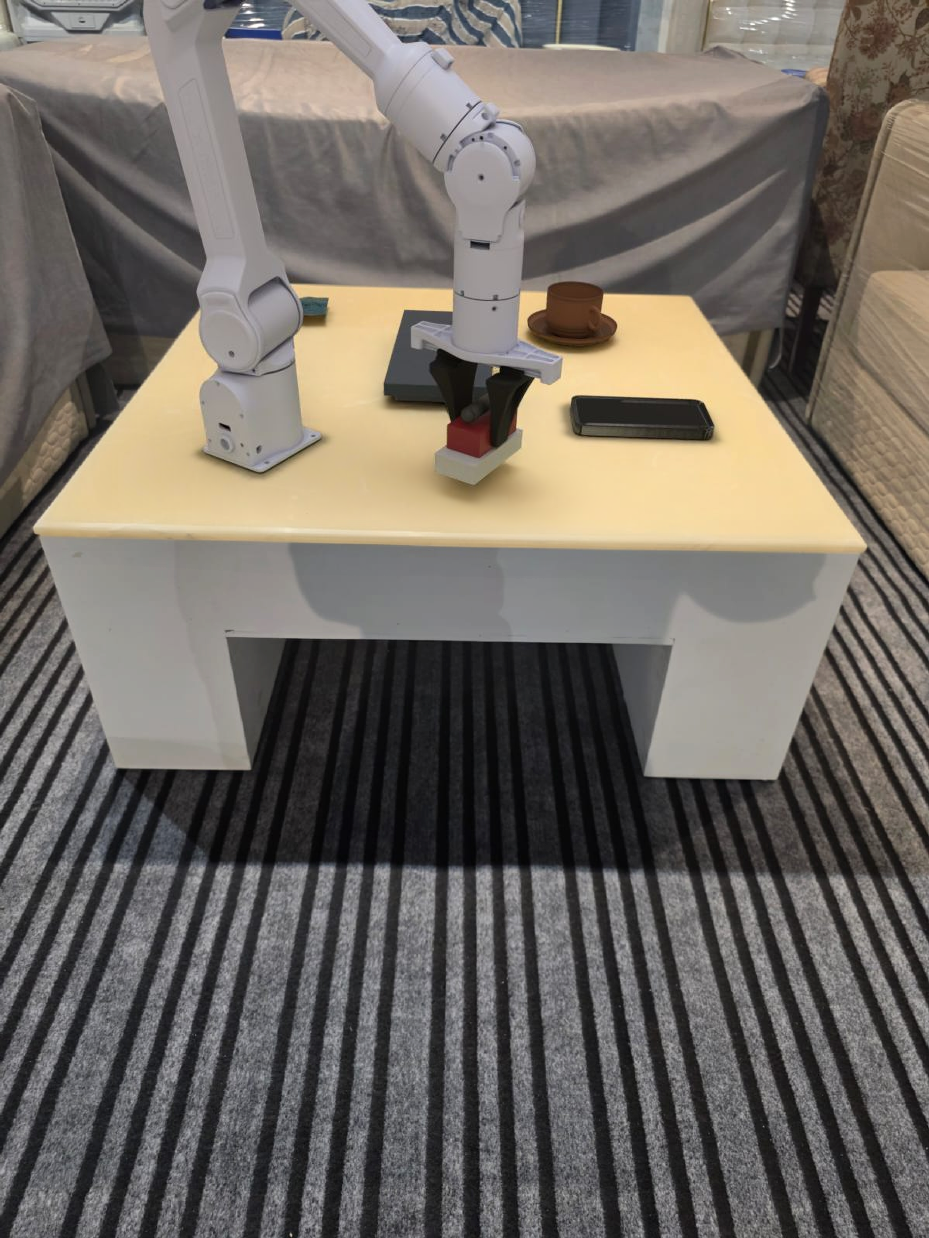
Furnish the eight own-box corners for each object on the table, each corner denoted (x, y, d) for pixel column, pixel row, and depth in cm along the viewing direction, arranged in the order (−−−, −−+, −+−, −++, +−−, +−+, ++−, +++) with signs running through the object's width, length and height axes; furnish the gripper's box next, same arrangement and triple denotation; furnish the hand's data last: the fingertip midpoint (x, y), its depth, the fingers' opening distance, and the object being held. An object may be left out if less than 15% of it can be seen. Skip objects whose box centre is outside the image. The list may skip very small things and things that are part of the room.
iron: (473, 485, 77) (476, 423, 73) (434, 472, 79) (434, 410, 75) (521, 448, 83) (526, 388, 79) (483, 436, 85) (486, 377, 81)
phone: (716, 430, 89) (575, 425, 89) (714, 440, 90) (574, 434, 90) (702, 399, 95) (570, 394, 95) (700, 408, 96) (569, 403, 96)
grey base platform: (490, 412, 94) (492, 387, 92) (384, 408, 94) (383, 383, 92) (493, 335, 112) (494, 312, 111) (404, 332, 113) (404, 309, 111)
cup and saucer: (632, 336, 113) (639, 290, 109) (581, 361, 106) (587, 312, 102) (561, 315, 119) (565, 270, 115) (508, 336, 112) (510, 289, 108)
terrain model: (232, 327, 112) (230, 312, 111) (238, 310, 118) (236, 296, 117) (329, 325, 113) (328, 311, 112) (329, 309, 120) (328, 295, 118)
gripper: (584, 294, 70) (567, 441, 79) (441, 263, 76) (439, 403, 85) (545, 318, 66) (532, 471, 74) (395, 282, 71) (399, 428, 80)
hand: (480, 437), depth 79 cm, fingers closed on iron, 3 cm apart
